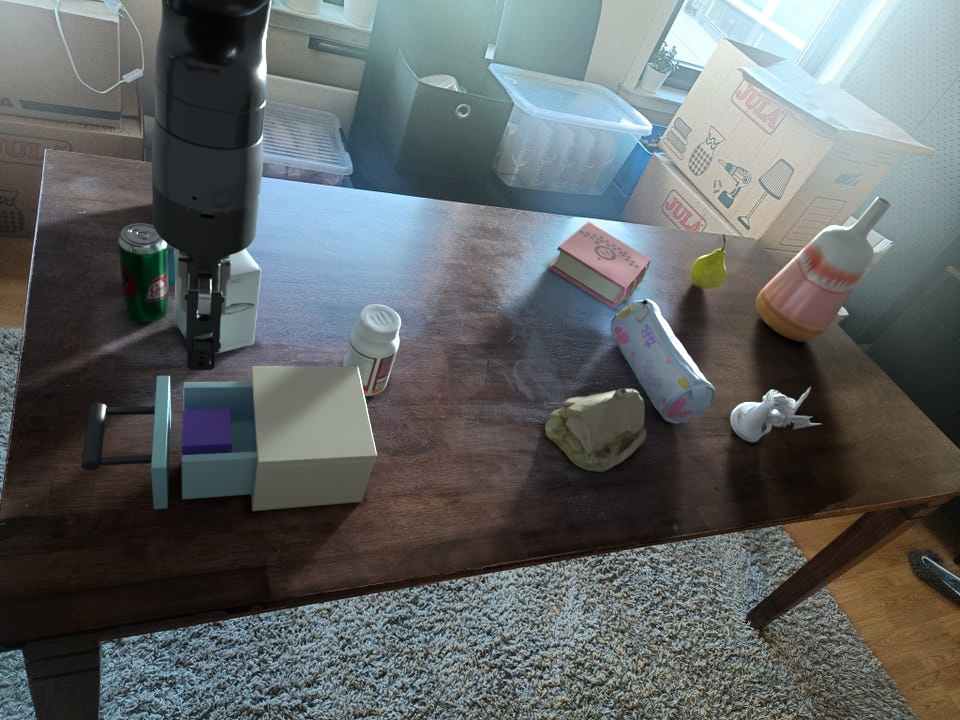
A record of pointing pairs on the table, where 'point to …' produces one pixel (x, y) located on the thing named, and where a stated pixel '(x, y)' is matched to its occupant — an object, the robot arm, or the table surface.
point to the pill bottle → (373, 346)
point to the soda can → (144, 272)
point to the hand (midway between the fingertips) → (201, 333)
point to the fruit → (709, 269)
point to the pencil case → (661, 362)
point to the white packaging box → (231, 302)
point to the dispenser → (310, 436)
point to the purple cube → (206, 432)
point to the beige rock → (599, 428)
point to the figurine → (767, 415)
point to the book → (600, 264)
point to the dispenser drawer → (198, 471)
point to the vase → (819, 279)
